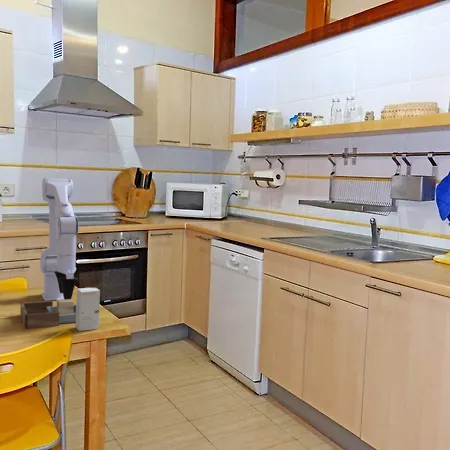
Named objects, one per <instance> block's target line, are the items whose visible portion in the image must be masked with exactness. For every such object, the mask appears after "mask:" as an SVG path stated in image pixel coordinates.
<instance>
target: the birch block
mask: <svg viewBox="0 0 450 450" xmlns="http://www.w3.org/2000/svg"><path fill="white" fill-rule="evenodd" d="M72 298H73V297H72ZM72 298H71V299H66V300H64V298H59V299H57V300H56V306H57V312H59V315H64V314H73V305H74V302H75V301H74V300H73V299H72Z"/></svg>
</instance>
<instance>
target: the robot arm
mask: <svg viewBox="0 0 450 450" xmlns="http://www.w3.org/2000/svg"><path fill="white" fill-rule="evenodd" d="M41 187H42V191H41V193H42V195H41V196H42V200H43V201H45V202H47V205H48V211H49V212H48V242H49V243H48V247H47V248H45V249H43V250H42V251H41V253H40V260H39V263H40V264H39V266H40V272H41V273H42V274H44V279H43V292H41V294H40V295H41V297H42V298H43V301H57V299H59V298H64V300H66V299H71V298H73V293H74V290H75V286H76V284H77V283H78V280H79V278H78V277H77V276H76V277H74V276H75V275H74V274H75V273H76V271H77V267H76V263H77V262H76V259H77V257H76V255H77V236H78V234H79V231H80V230H79V228H80V224H79V222H80V221H79V219H78V216H77V215H75V212H74V209H73V205H72V204H71V203H70V202H69V201H70V199H71V197H72V195H73V191H74V182H73V179H72V178H56V177H55V178H51V177H44V178H43V179H42V186H41Z"/></svg>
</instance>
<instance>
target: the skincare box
mask: <svg viewBox="0 0 450 450" xmlns="http://www.w3.org/2000/svg"><path fill="white" fill-rule="evenodd" d="M100 298H101V289H98V287H84V288H82V287H81V288H76V300H75V301H76V322H75V328H76V329H77V330H78V331H79V332H82V331H90V330H91V331H92V330H98V329H99V320H100V302H101V301H100V300H101V299H100Z"/></svg>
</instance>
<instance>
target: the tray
mask: <svg viewBox="0 0 450 450" xmlns="http://www.w3.org/2000/svg"><path fill="white" fill-rule="evenodd" d="M48 312H57V305H53V306H49V307H46V313H48ZM66 323H67V324H68V323H76V304H73V314H64V315H59V324H66Z"/></svg>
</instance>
